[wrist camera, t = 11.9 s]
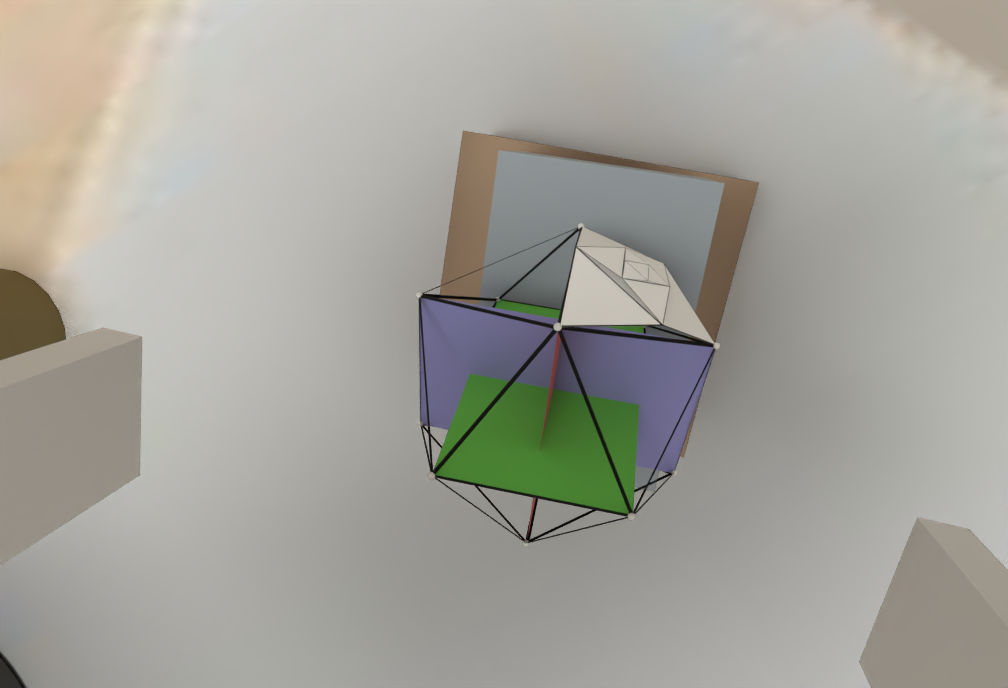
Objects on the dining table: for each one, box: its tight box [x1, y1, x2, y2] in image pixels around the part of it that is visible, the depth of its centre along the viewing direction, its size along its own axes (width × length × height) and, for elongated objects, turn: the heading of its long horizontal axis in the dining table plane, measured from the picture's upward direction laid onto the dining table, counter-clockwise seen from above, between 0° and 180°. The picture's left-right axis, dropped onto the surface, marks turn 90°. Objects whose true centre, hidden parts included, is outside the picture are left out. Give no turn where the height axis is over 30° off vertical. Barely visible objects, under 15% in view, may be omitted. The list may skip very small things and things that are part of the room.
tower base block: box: [440, 131, 758, 457], centre depth 26 cm, size 10×10×5 cm
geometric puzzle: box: [416, 223, 720, 547], centre depth 16 cm, size 7×7×8 cm
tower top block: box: [479, 150, 725, 491], centre depth 21 cm, size 6×9×5 cm, turn 172°
